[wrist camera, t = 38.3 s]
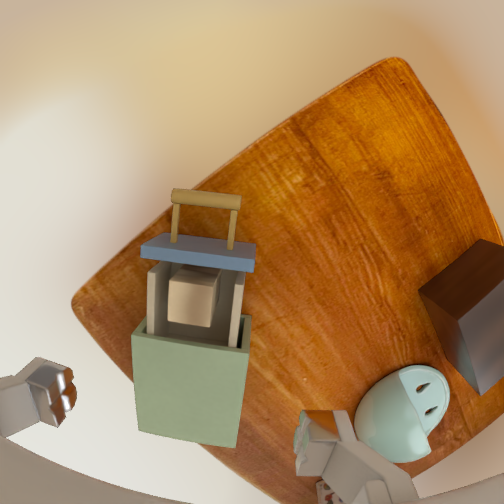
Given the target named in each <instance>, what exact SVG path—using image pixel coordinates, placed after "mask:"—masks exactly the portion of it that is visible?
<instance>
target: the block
mask: <svg viewBox="0 0 504 504" xmlns="http://www.w3.org/2000/svg"><path fill="white" fill-rule="evenodd" d="M221 273H222V269H220V268H213V267H205V266H197V265H190V264H184V265H183V266H182V267H181V268H180V269H179V270H178V271H177V272H176V274H175V275H174V276H173V277H172V278H171V279H170V280H169V293H168V321H171V322H177V323H183V324H189V325H196V326H202V327H210V325H211V322H212V319H213V316H214V313H215V310H216V307H217V304H218V301H219V293H220V283H221Z"/></svg>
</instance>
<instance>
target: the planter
mask: <svg viewBox="0 0 504 504" xmlns="http://www.w3.org/2000/svg"><path fill="white" fill-rule="evenodd" d="M426 383H427V384H426ZM424 384H425V385H424ZM419 385H424V386H423V388H422V389H420V390H418V391H416V388H417V387H418V386H419ZM449 398H450V391H449V386H448V383H447V380H446V379H445V377H444V376H443V374H442V373H441V372H439V371H438V370H437V369H435V368H432V367H429V366H425V365H412V366H408V367H405V368H402V369H400V370H398V371H395V372H393V373H391V374H389V375H388V376H386V377H384V378H383V379H381V380H380V381H379V382H377V383H376V384H375V385H374V386H373V387H372V388H371V389H370V390H369V391H368V392H367V393H366V395H365V396H364V397H363V399H362V400H361V402H360V404H359V406H358V408H357V410H356V413H355V417H354V428H355V432H356V435H357V437H358V439H359V441H362V442H363V443H365V444H366V445H368V446H369V447H370V448H372V449H373V450H375V451H376V452H377V453H379V454H380V455H382V456H383V457H384V458H386V459H387V460H389V461H390V462H394V463H405V462H411V461H415V460H418V459H420V458H422V457H424V456H426V455H428V454H429V453H430V452H431V449H430V446H429V443H428V440H427V436H428V435H429V433H430V432H431V431H432V430H433V429H434V428H435V426H436V425H437V424H438V423H439V422H440V420H441V419H442V417H443V415H444V414H445V412H446V409H447V407H448V403H449ZM431 408H432V410H431V411H430V412H429V413H427V414H425V412H426V411H427V410H428V409H431Z"/></svg>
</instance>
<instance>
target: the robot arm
mask: <svg viewBox="0 0 504 504" xmlns="http://www.w3.org/2000/svg"><path fill="white" fill-rule="evenodd" d="M73 378H74V376H73V372H72V370H71V369H70V368H68V367H65V366H63V365H60V364H57V363H55V362H52V361H48V360H46V359H43V358H41V357H36V358H35V359H33V360H32V361H31V362H30V363H29V364H28V365H27V366H25V368H23V369H22V370H21V371H20V372H19V373H18V374H16V375H15V376H12V375H10V376H6V377H2V378H0V504H191V503H186V502H180V501H175V500H170V499H165V498H161V497H157V496H153V495H149V494H145V493H141V492H137V491H133V490H130V489H126V488H123V487H120V486H116V485H113V484H110V483H107V482H104V481H101V480H98V479H95V478H92V477H89V476H87V475H84V474H82V473H79V472H76V471H74V470H71V469H69V468H66V467H64V466H62V465H59V464H57V463H55V462H53V461H50V460H48V459H46V458H44V457H42V456H39V455H37V454H35V453H33V452H31V451H29V450H27V449H25V448H23V447H22V446H19V445H18V444H16V443H14V442H12V441H10V440H8V439H6V437H8V436H11V435H13V434H15V433H17V432H19V431H21V430H23V429H25V428H27V427H30V426H32V425H34V424H36V423H38V422H39V421H42V422H44V423H47V424H49V425H52V426H55V427H57V428H58V427H59V425H60V424H61V423H62V422H63V420H64V419H65V417H66V416H65V412H67V411H70V410H72V408H73V407H74V405H75V402H76V399H77V391H76V387H75V386H74V384H73V383H72V380H73ZM299 422H300V425H299V426H297V427H296V430H295V434H294V441H293V448H294V453H295V454H296V455H297V457H296V460H295V467H296V475H297V476H322V477H321V478H322V479H323V480H324V481H325V482H326V483H327V484H328V485H329V487H330V488H331V489H332V490H333V491H334V492H335V493H336V494H337V495H338V496H339V497H340V498H341V500H342V501H343V502H344V503H345V504H504V473H502V474H499V475H496V476H493V477H490V478H488V479H485V480H483V481H479V482H477V483H474V484H471V485H468V486H465V487H461V488H458V489H455V490H451V491H448V492H444V493H441V494H437V495H433V496H429V497H425V498H419V496H418V494H417V491H416V489H415V487H414V484H413V482H412V480H411V477H410V475H409V474H408V473H406V472H405V471H403V470H402V469H400V468H399V467H398V466H396V465H395V464H393V463H392V462H390V461H389V460H387V459H386V458H384V457H383V456H382V455H380V454H379V453H377V452H376V451H375V450H373V449H372V448H370V447H369V446H368V445H366V444H365V443H363V442H362V441H357V439H356V436H355V433H354V430H353V427H352V425H351V422H350V419H349V416H348V413H347V411H346V410H331V411H330V410H302V411H301V413H300V416H299Z"/></svg>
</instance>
